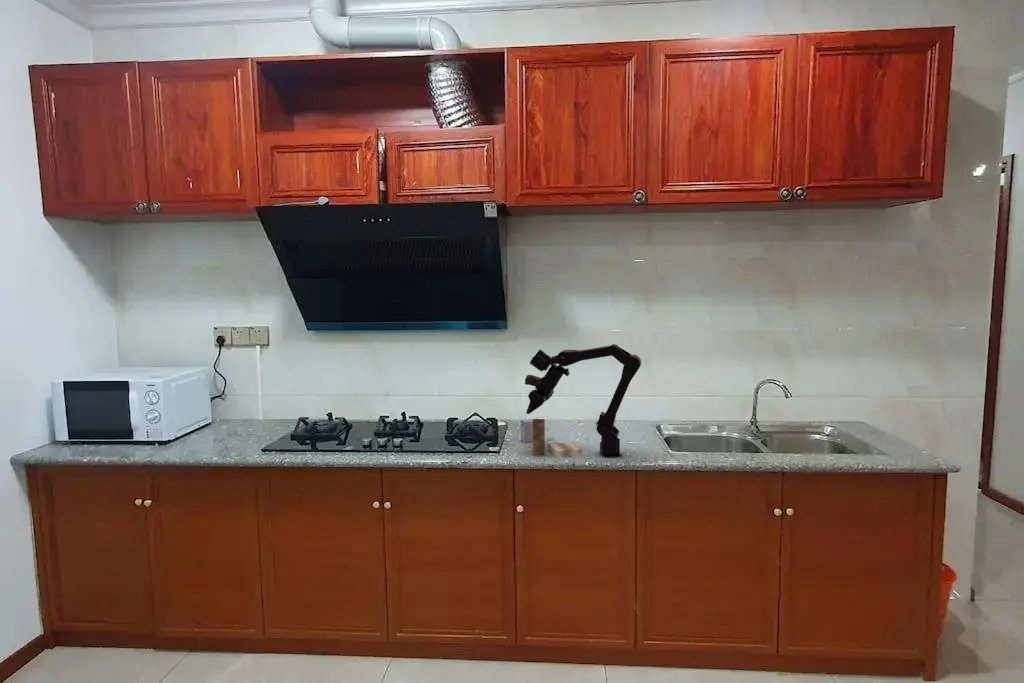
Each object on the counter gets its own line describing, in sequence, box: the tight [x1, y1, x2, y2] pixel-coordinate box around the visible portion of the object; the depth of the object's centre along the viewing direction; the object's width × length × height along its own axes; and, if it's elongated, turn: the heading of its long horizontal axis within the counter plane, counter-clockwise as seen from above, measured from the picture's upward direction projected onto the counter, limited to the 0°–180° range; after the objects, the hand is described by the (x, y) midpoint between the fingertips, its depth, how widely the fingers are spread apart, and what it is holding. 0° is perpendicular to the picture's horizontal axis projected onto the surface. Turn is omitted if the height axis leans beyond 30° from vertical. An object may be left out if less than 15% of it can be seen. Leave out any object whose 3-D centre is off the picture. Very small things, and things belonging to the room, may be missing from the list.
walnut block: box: [532, 418, 546, 457], centre depth 227 cm, size 4×4×13 cm
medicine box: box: [520, 417, 539, 443], centre depth 246 cm, size 8×4×9 cm, turn 111°
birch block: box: [548, 441, 583, 459], centre depth 228 cm, size 10×10×3 cm
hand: (530, 411), depth 233 cm, fingers open, 9 cm apart
